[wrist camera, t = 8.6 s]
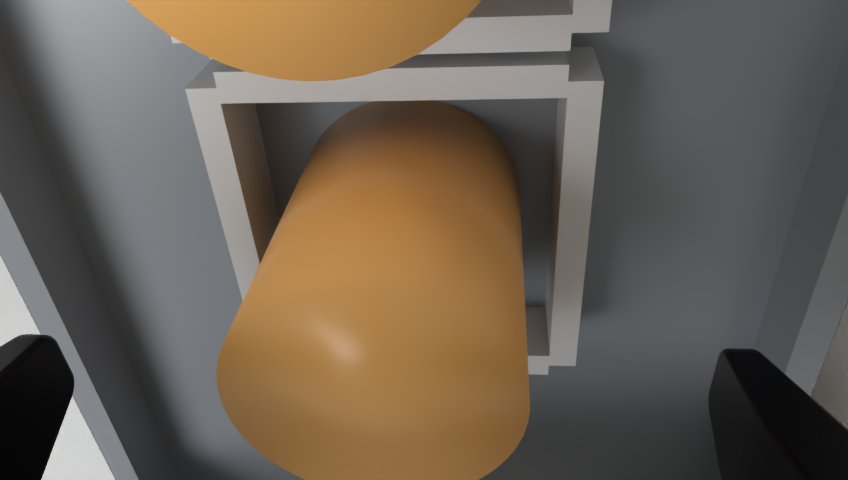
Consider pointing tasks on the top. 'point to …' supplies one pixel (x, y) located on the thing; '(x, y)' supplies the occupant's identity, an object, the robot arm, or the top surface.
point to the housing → (539, 202)
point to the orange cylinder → (307, 32)
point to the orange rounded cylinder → (388, 306)
